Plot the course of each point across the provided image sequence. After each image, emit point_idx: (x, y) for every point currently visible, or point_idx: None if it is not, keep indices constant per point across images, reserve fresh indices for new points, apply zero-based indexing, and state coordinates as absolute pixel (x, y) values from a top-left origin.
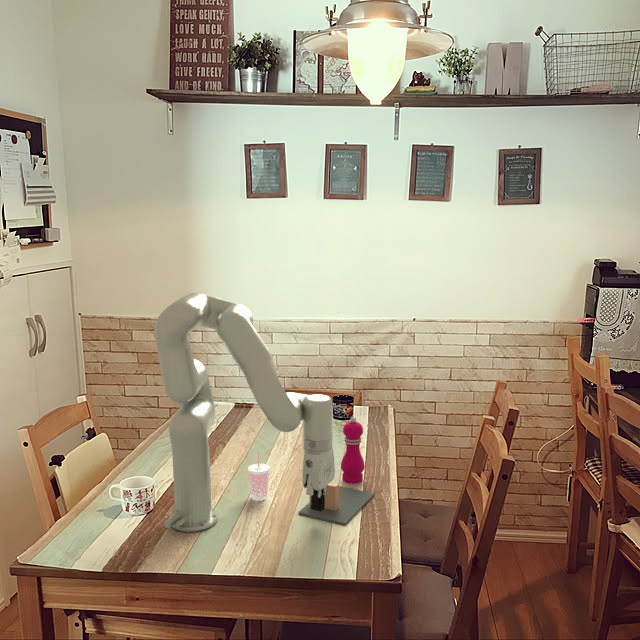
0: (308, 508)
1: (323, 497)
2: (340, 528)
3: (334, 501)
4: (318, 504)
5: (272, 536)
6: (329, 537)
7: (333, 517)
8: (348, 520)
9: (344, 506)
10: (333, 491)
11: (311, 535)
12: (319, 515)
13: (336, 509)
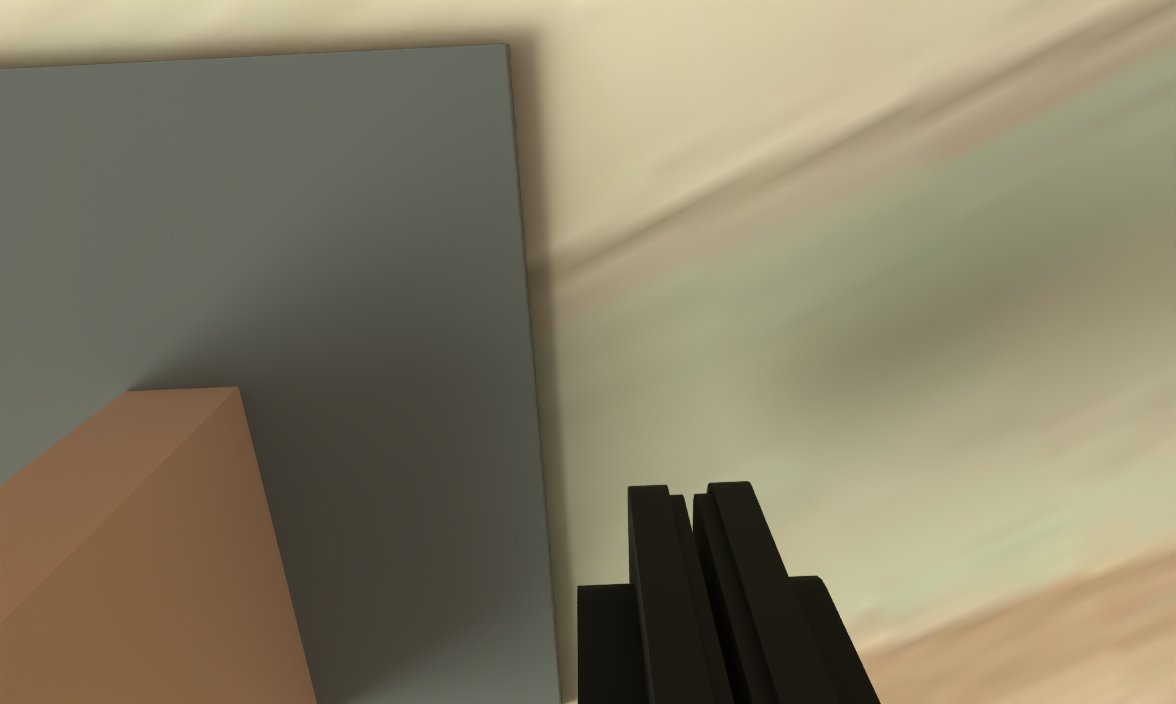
0: (414, 687)
1: (710, 697)
2: (633, 72)
3: (164, 487)
4: (818, 628)
5: (1148, 681)
6: (972, 90)
7: (439, 315)
8: (372, 50)
9: (20, 339)
10: (36, 657)
11: (997, 347)
12: (500, 504)
13: (201, 391)
